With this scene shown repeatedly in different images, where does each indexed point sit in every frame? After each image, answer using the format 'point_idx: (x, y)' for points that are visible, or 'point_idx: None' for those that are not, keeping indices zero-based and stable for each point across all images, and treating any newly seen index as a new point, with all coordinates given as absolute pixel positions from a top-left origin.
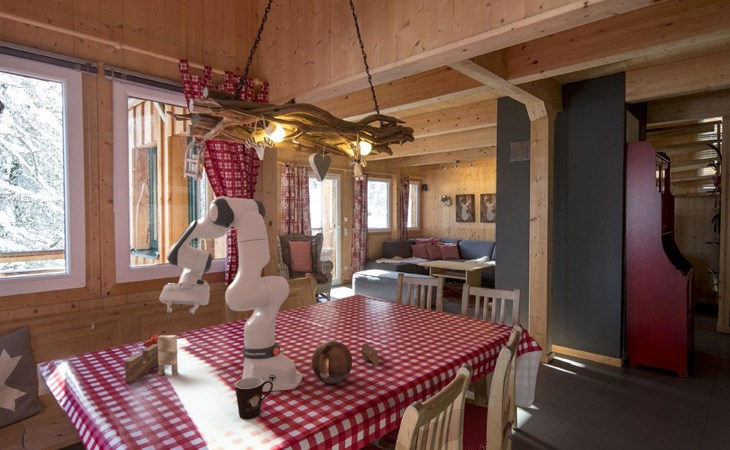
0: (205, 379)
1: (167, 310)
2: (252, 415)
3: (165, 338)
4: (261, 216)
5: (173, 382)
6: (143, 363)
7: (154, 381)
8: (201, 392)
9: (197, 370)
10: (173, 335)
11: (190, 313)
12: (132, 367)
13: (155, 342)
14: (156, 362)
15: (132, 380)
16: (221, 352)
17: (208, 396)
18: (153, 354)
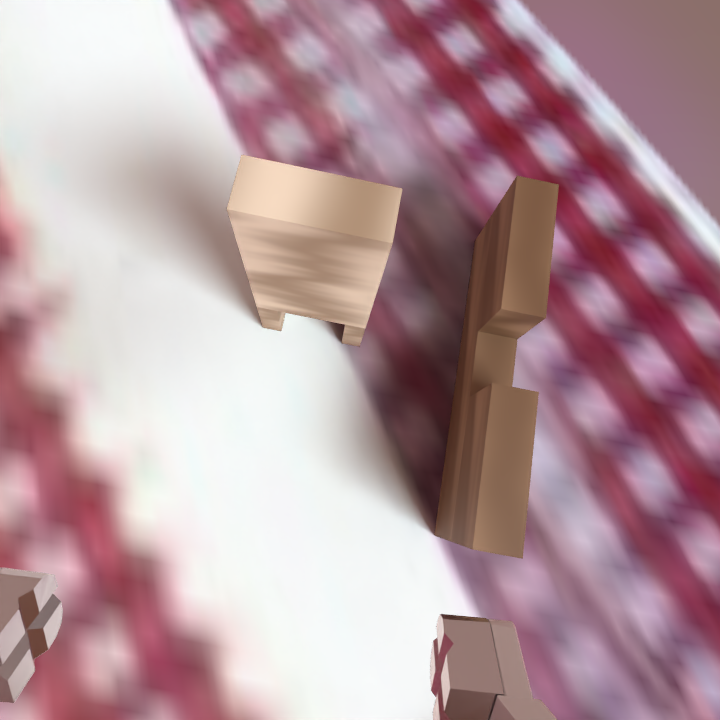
0: (80, 194)
1: (500, 623)
2: None
3: (324, 179)
4: None
5: None
6: (481, 339)
7: None
8: (82, 49)
9: (146, 340)
10: (259, 212)
11: (53, 608)
12: (499, 211)
13: None
14: (444, 492)
15: (475, 244)
16: (4, 708)
17: (44, 3)
18: (468, 453)
